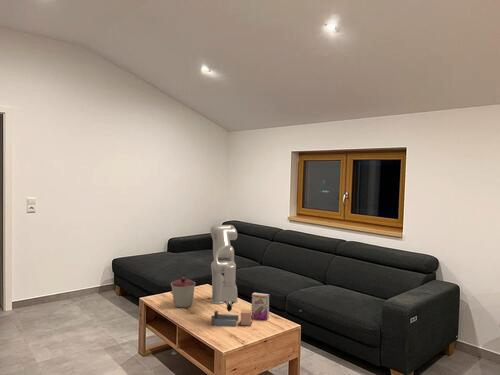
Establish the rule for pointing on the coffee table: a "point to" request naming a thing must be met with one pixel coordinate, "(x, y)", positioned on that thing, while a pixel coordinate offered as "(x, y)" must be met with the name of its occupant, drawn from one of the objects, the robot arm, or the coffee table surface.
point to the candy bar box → (260, 306)
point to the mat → (245, 325)
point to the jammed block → (245, 317)
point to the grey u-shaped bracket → (224, 319)
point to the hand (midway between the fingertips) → (229, 310)
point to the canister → (183, 292)
